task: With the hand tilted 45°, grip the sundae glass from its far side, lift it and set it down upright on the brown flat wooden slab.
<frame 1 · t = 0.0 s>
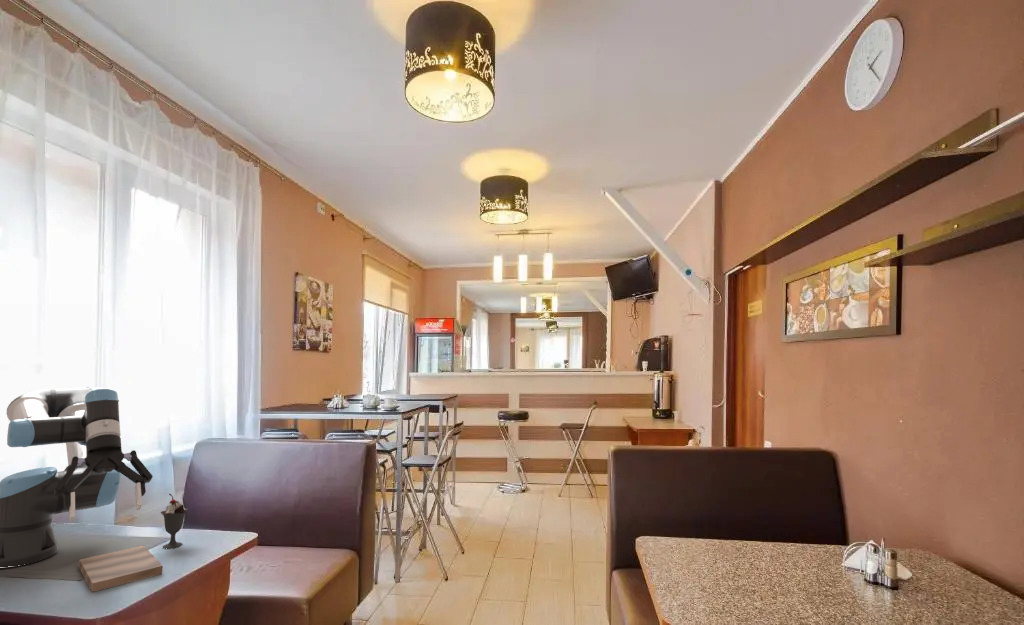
hand: (107, 513, 129), 15 cm above the table, tool tilted 35°, fingers open, 13 cm apart
brown flat wooden slab: (119, 570, 130), on the table
sundae: (172, 546, 147), on the table
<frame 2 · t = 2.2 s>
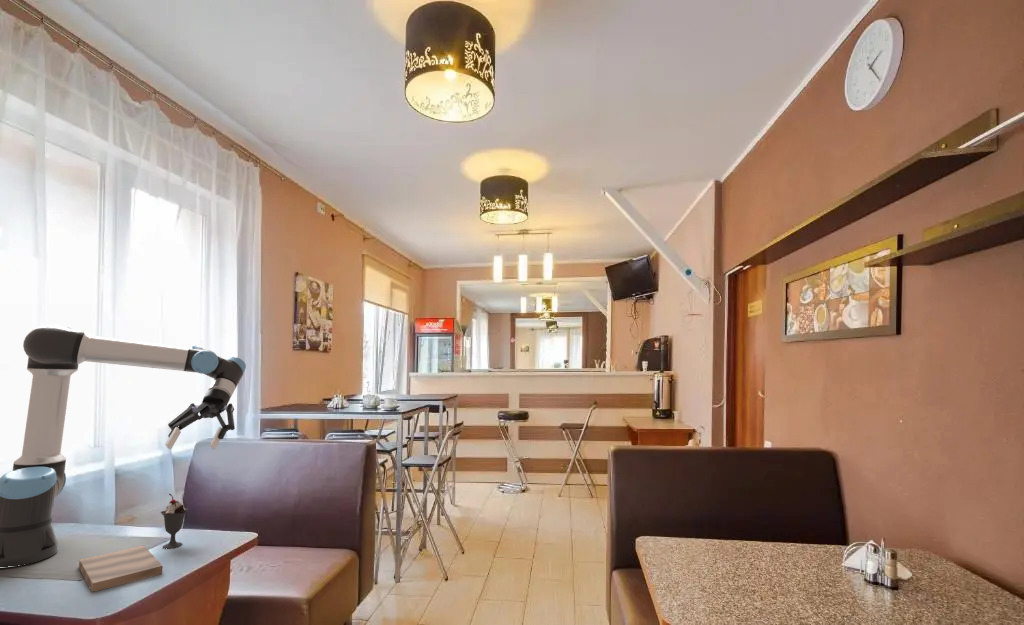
hand: (190, 446, 156), 27 cm above the table, tool tilted 45°, fingers open, 13 cm apart
nothing on the table moved.
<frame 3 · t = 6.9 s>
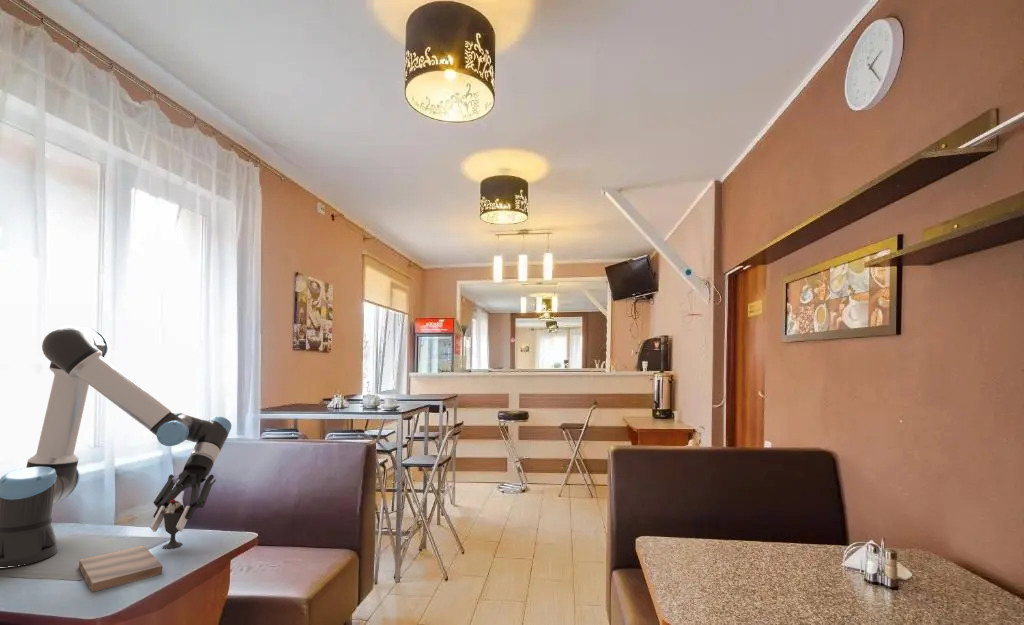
hand: (165, 529, 144), 6 cm above the table, tool tilted 45°, fingers closed on sundae, 6 cm apart
sundae: (172, 546, 147), on the table, touching gripper
when the fingers open (9 cm above the table, at t = 12.5 s): sundae drops 1 cm, resting on brown flat wooden slab.
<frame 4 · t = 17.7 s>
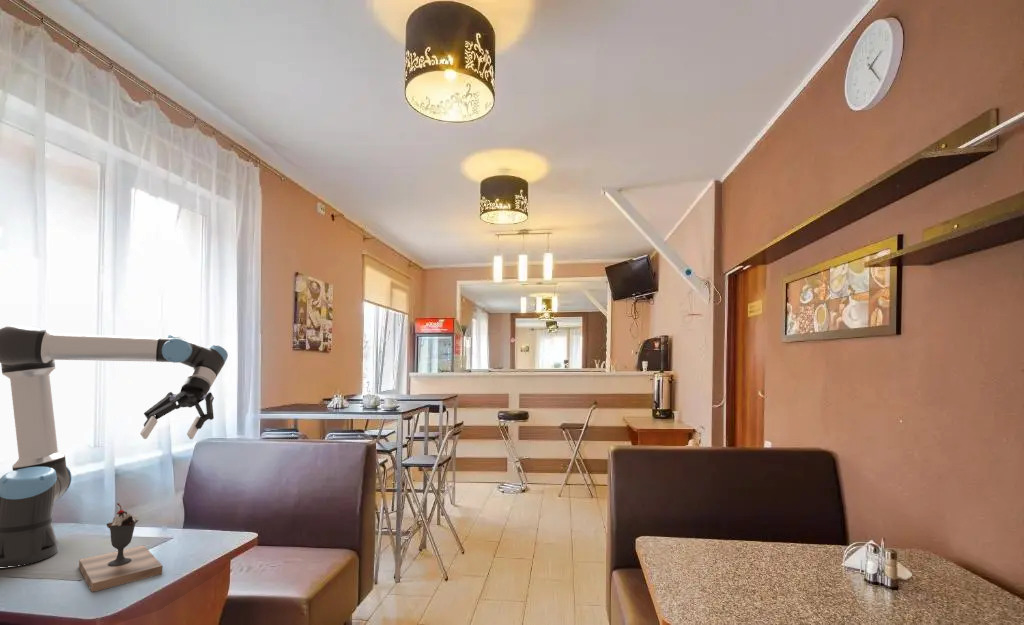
hand: (166, 436, 150), 32 cm above the table, tool tilted 45°, fingers open, 13 cm apart
sundae: (119, 563, 130), point 2 cm above the table, touching brown flat wooden slab
at the end: sundae inside the target area on the brown flat wooden slab (0.4 cm from its centre), point 1.8 cm above the brown flat wooden slab's base; sundae tilted 0°; the gripper is holding nothing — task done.
